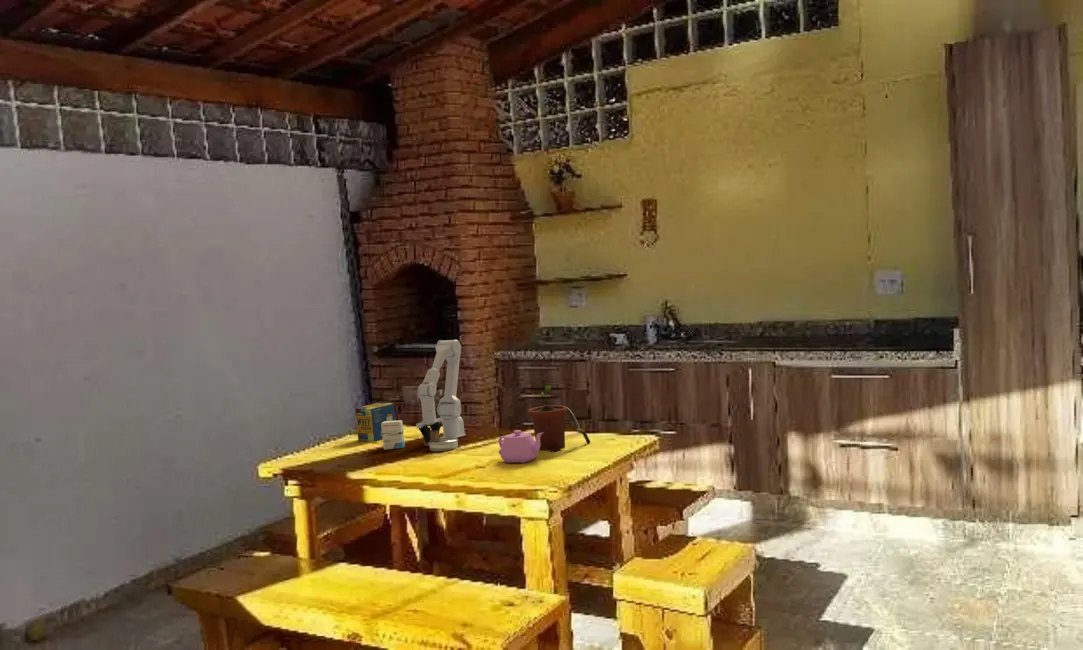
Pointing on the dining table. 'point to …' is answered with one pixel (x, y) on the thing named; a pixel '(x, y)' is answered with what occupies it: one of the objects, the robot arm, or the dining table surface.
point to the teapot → (519, 447)
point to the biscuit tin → (443, 444)
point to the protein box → (373, 420)
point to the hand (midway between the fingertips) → (431, 441)
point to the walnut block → (432, 436)
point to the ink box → (393, 434)
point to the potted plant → (552, 425)
